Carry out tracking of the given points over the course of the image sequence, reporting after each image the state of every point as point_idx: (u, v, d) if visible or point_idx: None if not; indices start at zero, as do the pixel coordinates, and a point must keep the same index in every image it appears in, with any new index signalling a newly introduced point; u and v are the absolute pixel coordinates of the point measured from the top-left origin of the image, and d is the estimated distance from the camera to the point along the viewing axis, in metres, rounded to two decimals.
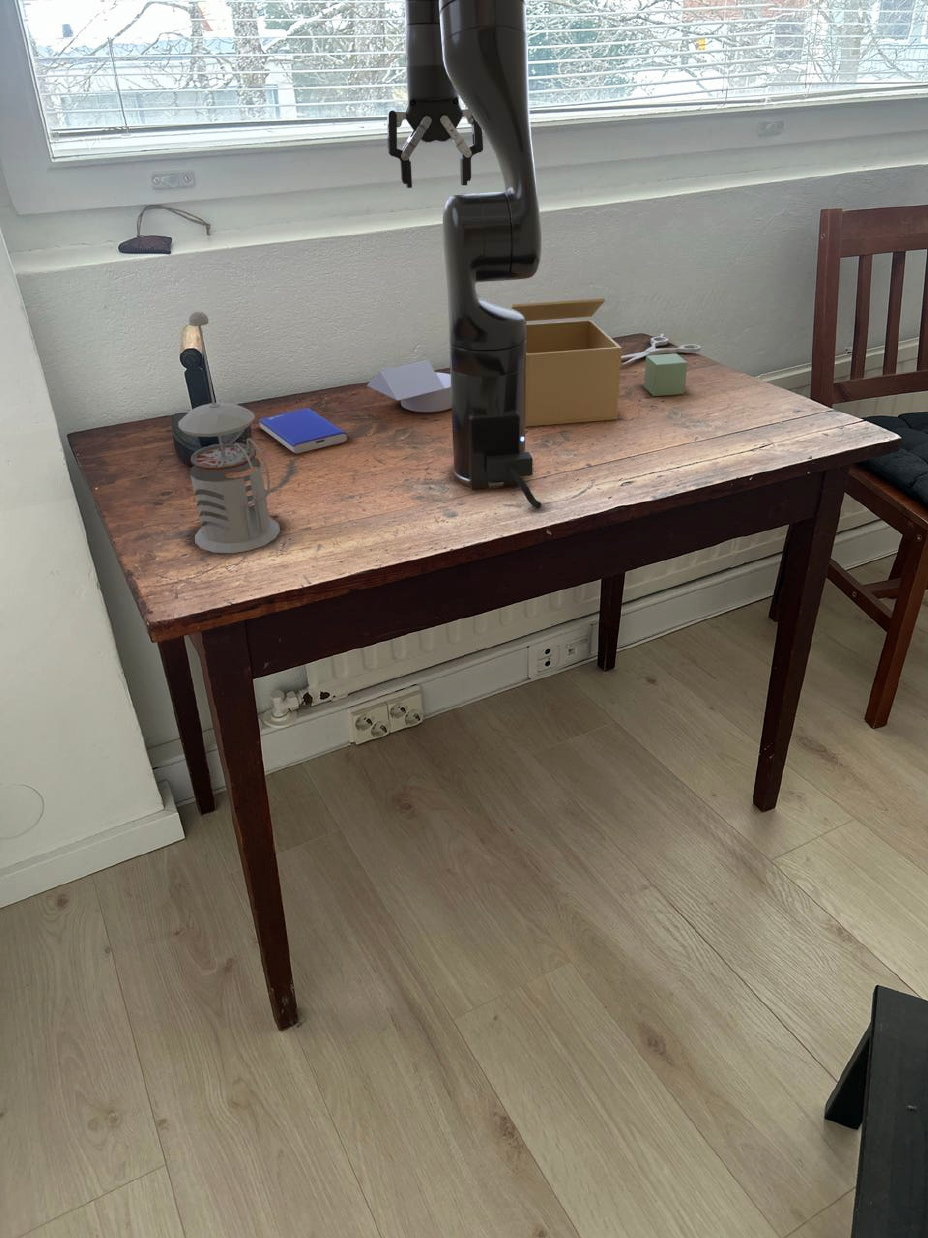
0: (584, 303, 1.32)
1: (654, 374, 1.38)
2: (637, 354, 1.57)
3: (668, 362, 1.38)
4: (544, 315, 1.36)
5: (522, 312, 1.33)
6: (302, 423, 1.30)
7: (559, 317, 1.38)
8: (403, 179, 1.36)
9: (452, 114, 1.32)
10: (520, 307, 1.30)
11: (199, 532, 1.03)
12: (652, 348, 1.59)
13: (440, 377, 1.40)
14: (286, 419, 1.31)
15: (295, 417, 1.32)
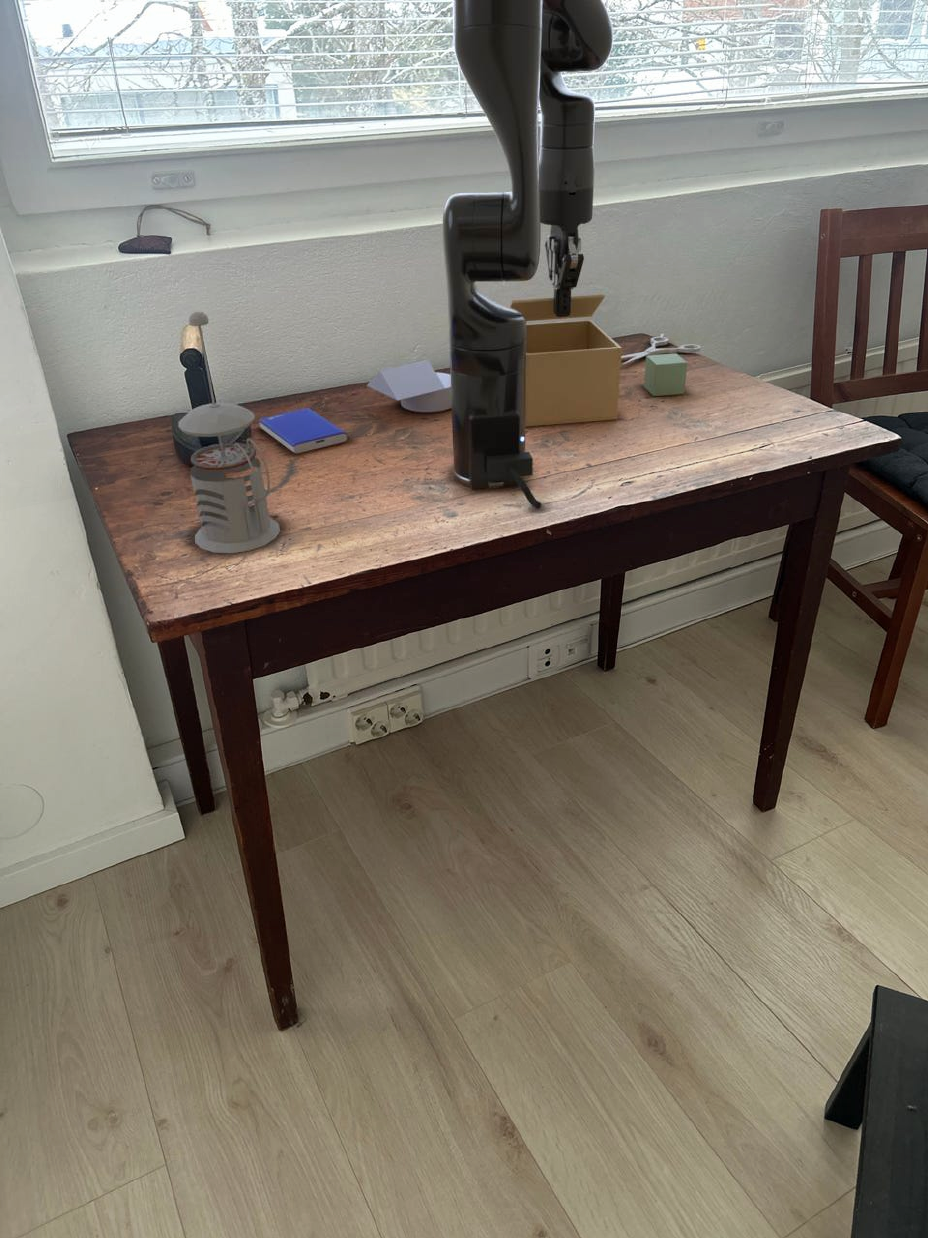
0: (584, 300, 1.32)
1: (654, 374, 1.38)
2: (637, 354, 1.57)
3: (668, 362, 1.38)
4: (543, 313, 1.36)
5: (522, 310, 1.33)
6: (302, 423, 1.30)
7: None
8: None
9: (560, 240, 1.22)
10: (519, 303, 1.30)
11: (199, 532, 1.03)
12: (652, 348, 1.59)
13: (440, 377, 1.40)
14: (286, 419, 1.31)
15: (295, 417, 1.32)
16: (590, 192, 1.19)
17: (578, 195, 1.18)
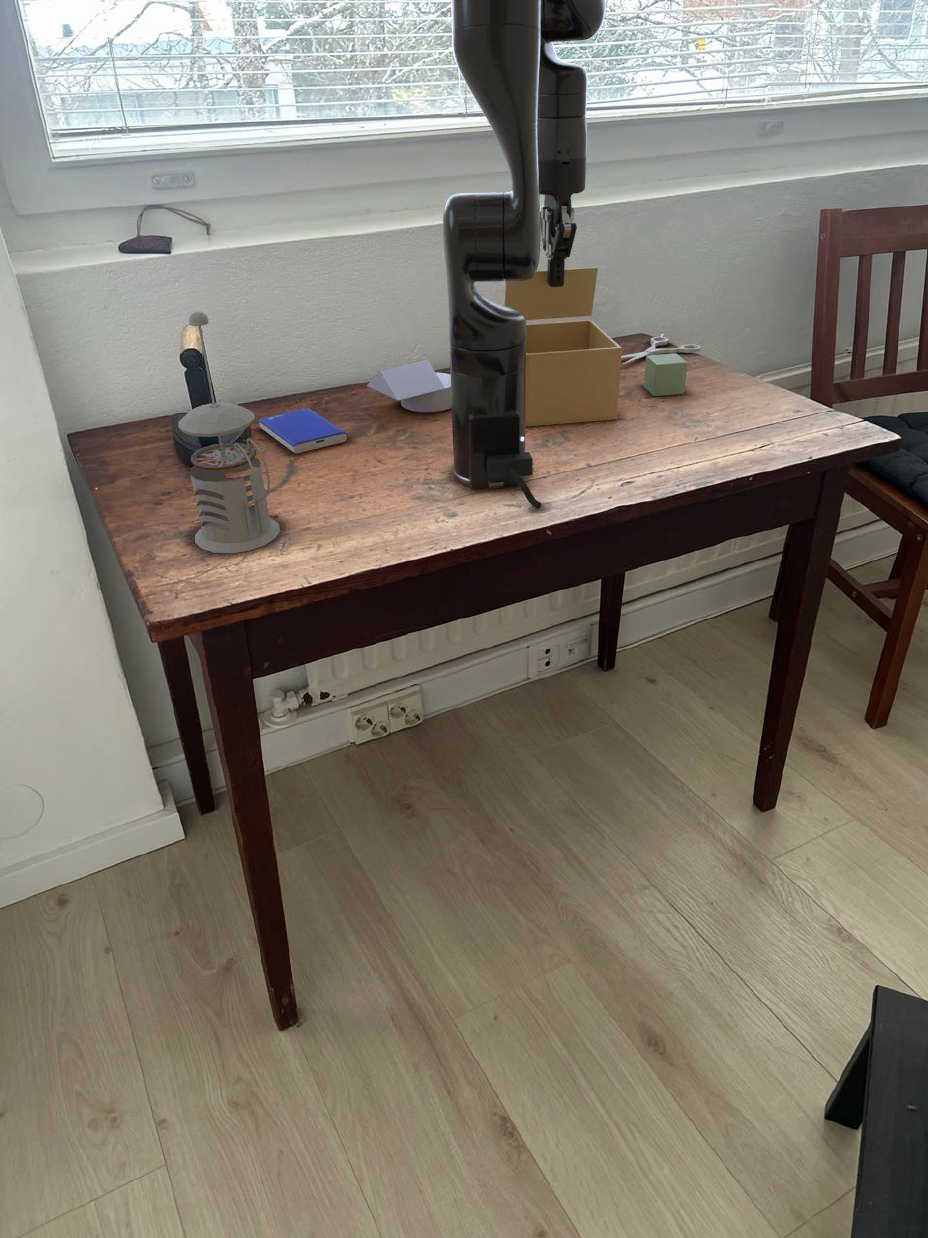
0: (578, 273, 1.33)
1: (654, 374, 1.38)
2: (637, 354, 1.57)
3: (668, 362, 1.38)
4: (542, 303, 1.36)
5: (518, 291, 1.34)
6: (302, 423, 1.29)
7: (558, 312, 1.38)
8: None
9: (554, 209, 1.24)
10: None
11: (199, 532, 1.03)
12: (652, 348, 1.59)
13: (440, 377, 1.40)
14: (286, 419, 1.31)
15: (295, 417, 1.32)
16: (583, 161, 1.21)
17: (571, 164, 1.20)
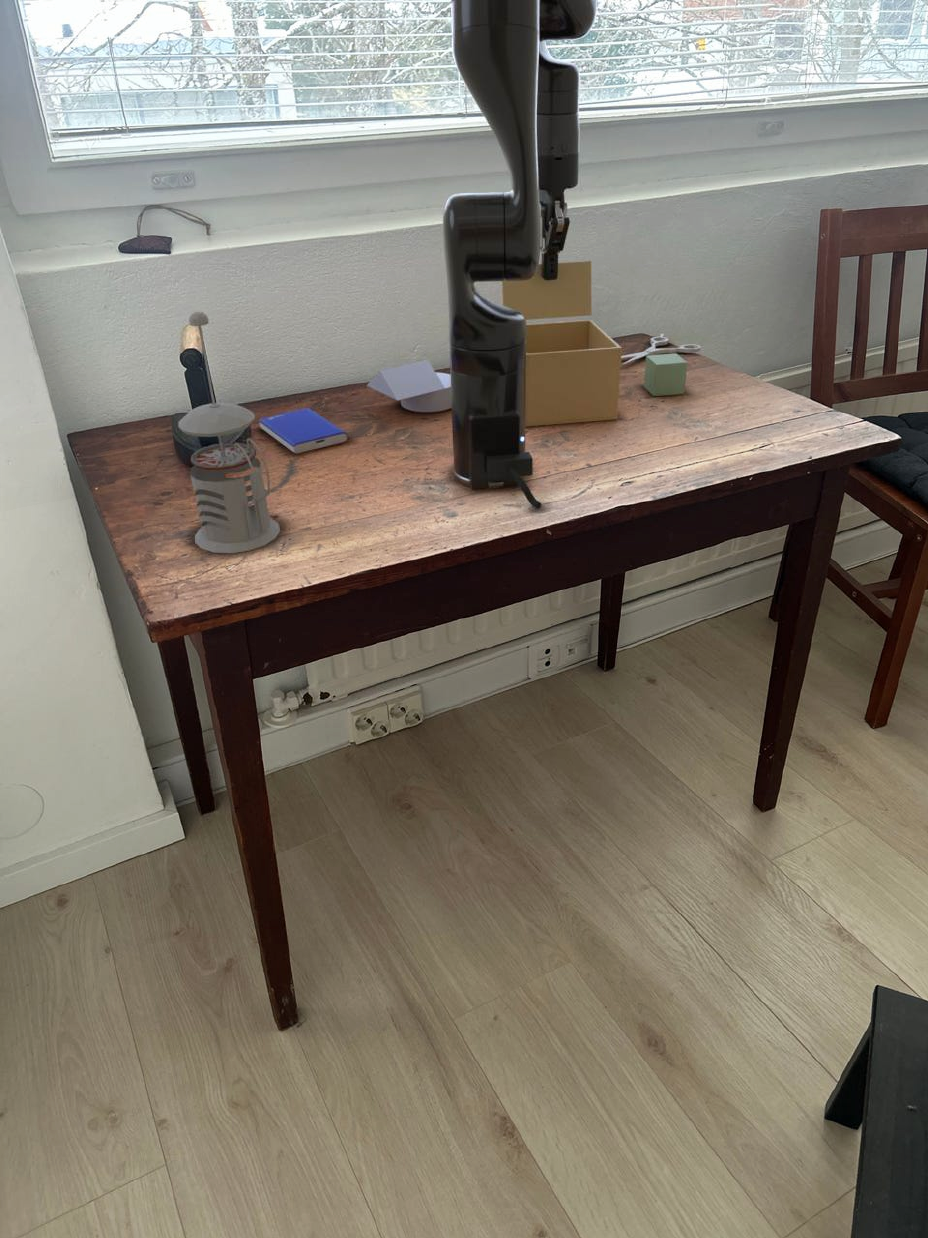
0: (572, 267, 1.36)
1: (654, 374, 1.38)
2: (637, 354, 1.57)
3: (668, 362, 1.38)
4: (540, 300, 1.37)
5: (515, 286, 1.36)
6: (302, 423, 1.30)
7: (557, 311, 1.38)
8: None
9: (547, 204, 1.27)
10: None
11: (199, 532, 1.03)
12: (652, 348, 1.59)
13: (440, 377, 1.40)
14: (286, 419, 1.31)
15: (295, 417, 1.32)
16: (576, 157, 1.24)
17: (564, 160, 1.23)
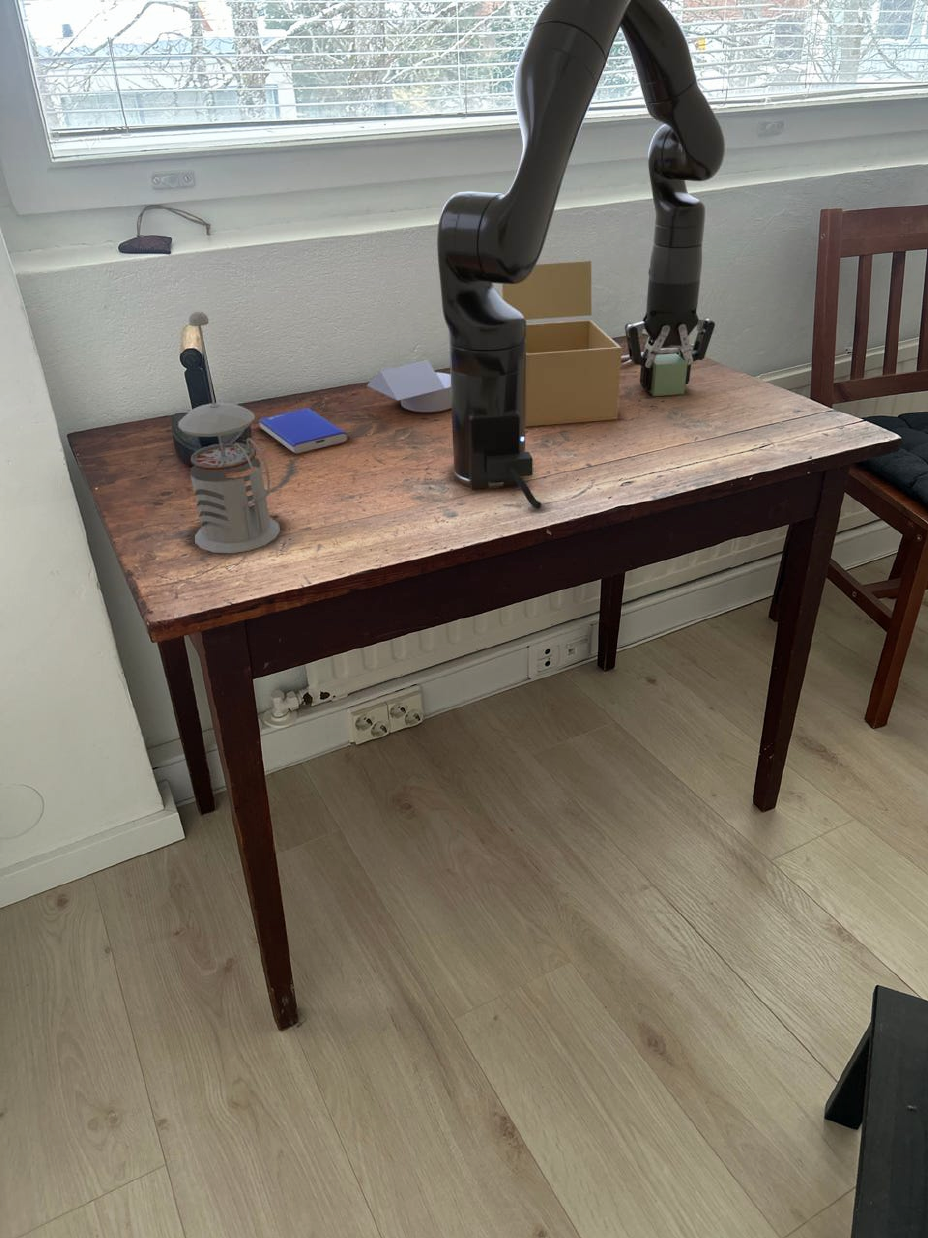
0: (572, 267, 1.36)
1: (654, 374, 1.38)
2: None
3: (668, 362, 1.38)
4: (540, 300, 1.37)
5: (515, 286, 1.36)
6: (302, 423, 1.30)
7: (557, 311, 1.38)
8: (643, 383, 1.40)
9: (689, 322, 1.36)
10: None
11: (199, 532, 1.03)
12: None
13: (440, 377, 1.40)
14: (286, 419, 1.31)
15: (295, 417, 1.32)
16: None
17: None
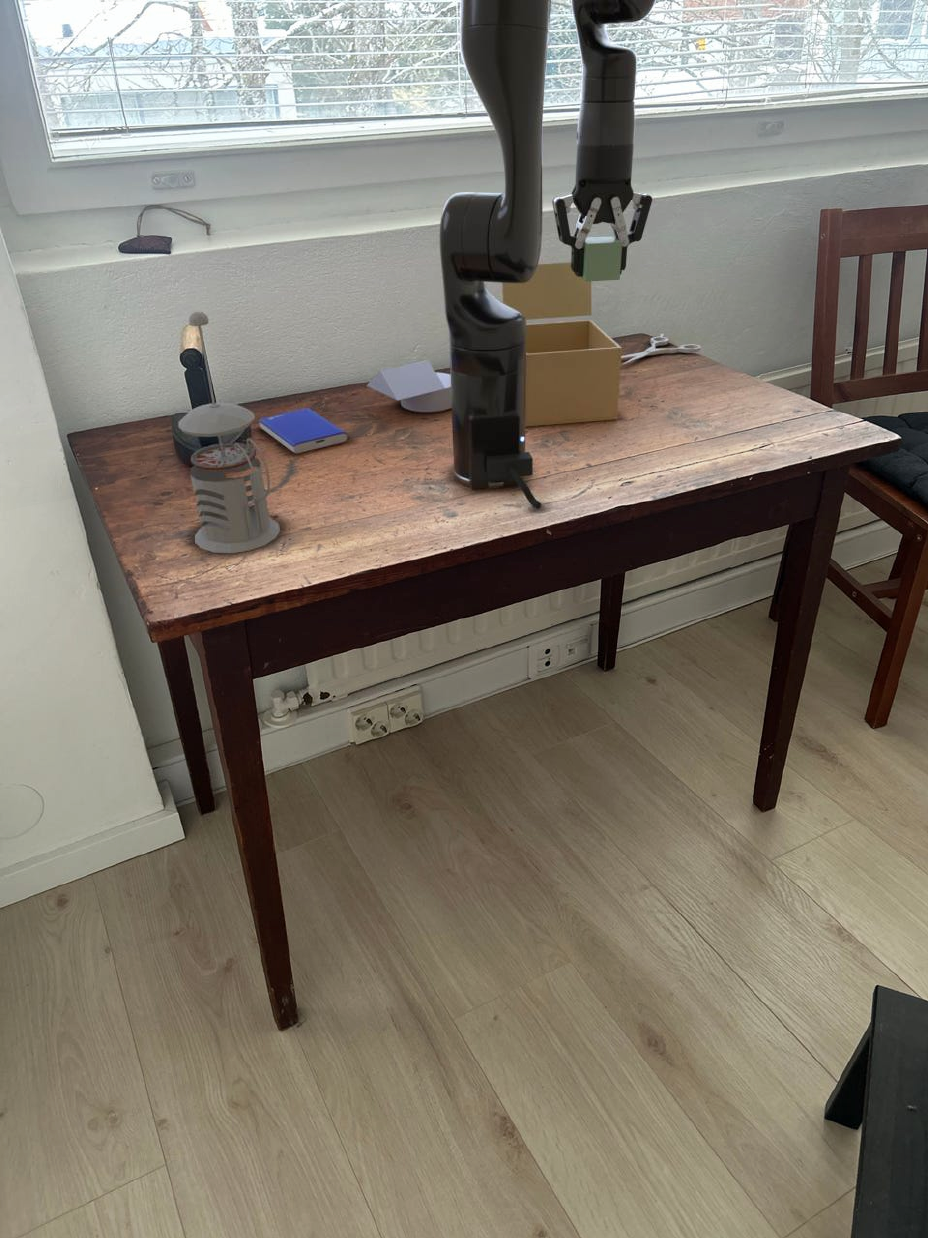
0: None
1: (585, 255, 1.24)
2: (637, 354, 1.57)
3: (600, 242, 1.24)
4: (540, 300, 1.37)
5: (515, 286, 1.36)
6: (302, 423, 1.29)
7: (557, 311, 1.38)
8: (574, 268, 1.26)
9: (623, 195, 1.22)
10: None
11: (199, 532, 1.03)
12: (652, 348, 1.59)
13: (440, 377, 1.40)
14: (286, 419, 1.31)
15: (295, 417, 1.32)
16: None
17: None
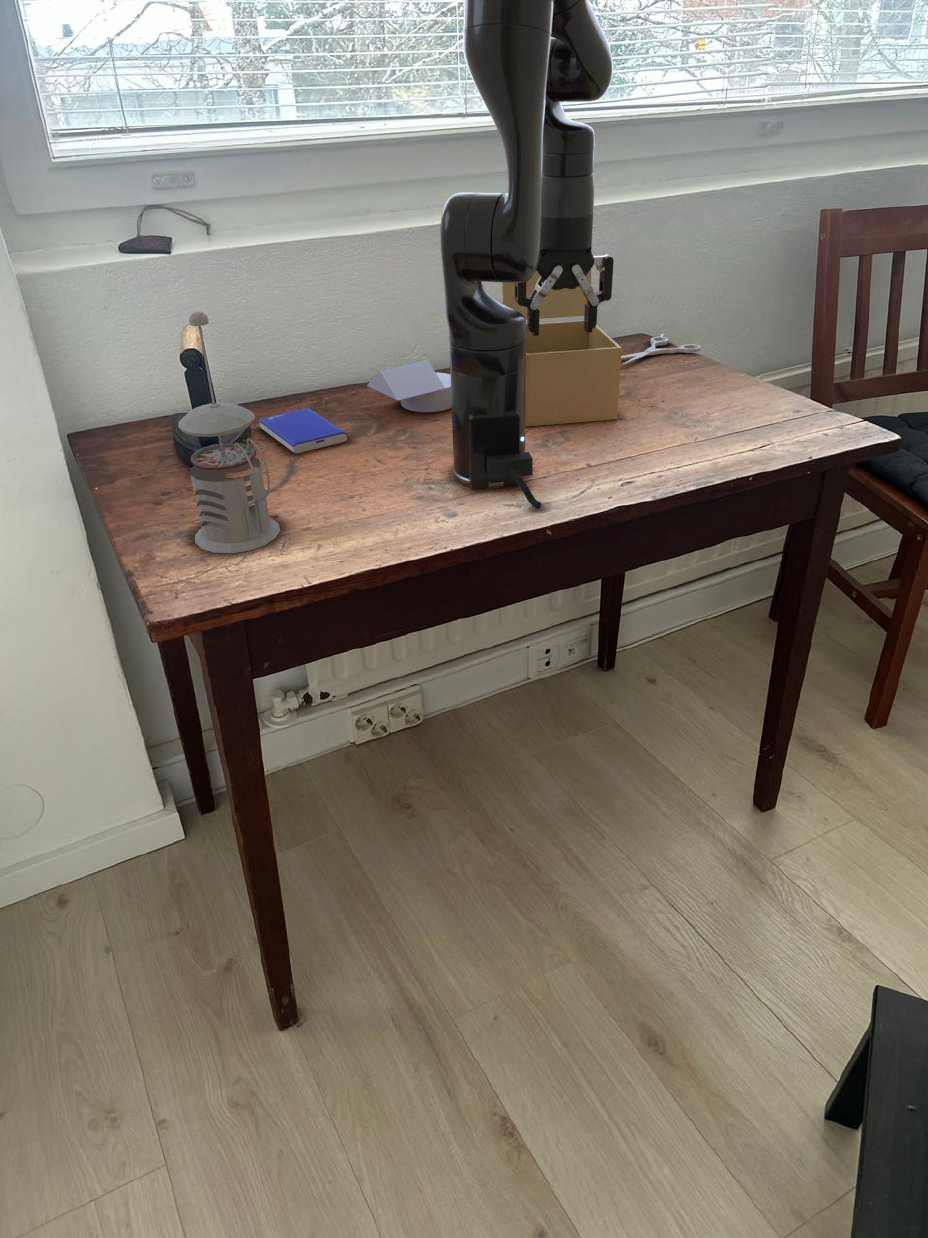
0: None
1: None
2: (637, 354, 1.57)
3: None
4: None
5: None
6: (302, 423, 1.30)
7: (557, 311, 1.38)
8: (530, 328, 1.29)
9: (584, 262, 1.25)
10: None
11: (199, 532, 1.03)
12: (652, 348, 1.59)
13: (440, 377, 1.40)
14: (286, 419, 1.31)
15: (295, 417, 1.32)
16: None
17: None
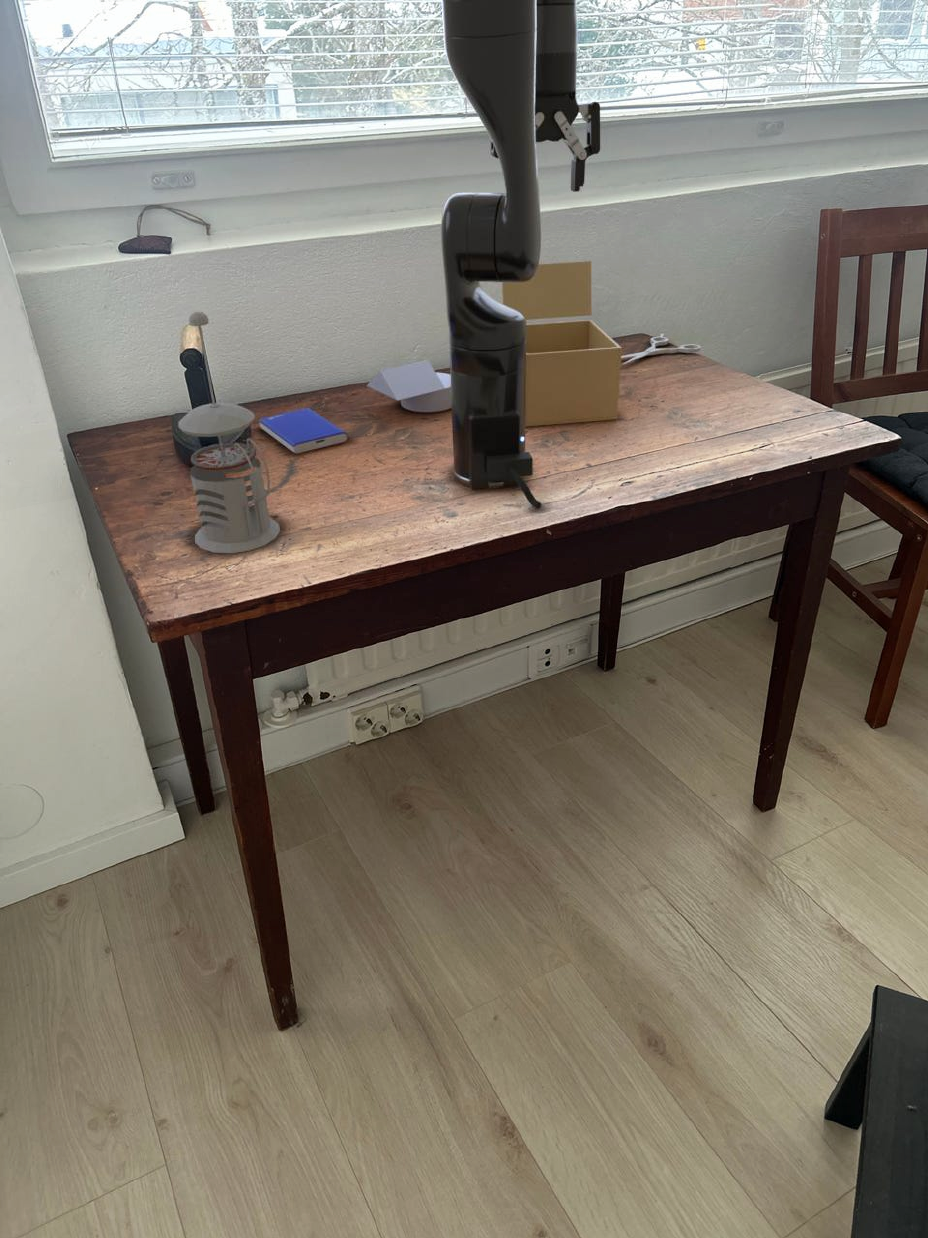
0: (572, 267, 1.36)
1: None
2: (637, 354, 1.57)
3: None
4: (540, 300, 1.37)
5: (515, 286, 1.36)
6: (302, 423, 1.29)
7: (557, 311, 1.38)
8: None
9: (567, 110, 1.14)
10: None
11: (199, 532, 1.03)
12: (652, 348, 1.59)
13: (440, 377, 1.40)
14: (286, 419, 1.31)
15: (295, 417, 1.32)
16: None
17: None
